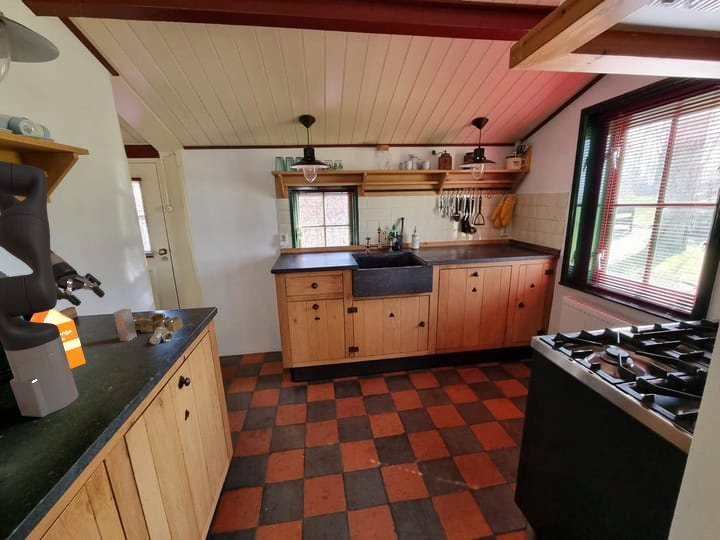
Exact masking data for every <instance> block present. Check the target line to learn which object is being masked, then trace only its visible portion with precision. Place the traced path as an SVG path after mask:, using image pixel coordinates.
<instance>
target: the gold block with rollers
mask: <svg viewBox="0 0 720 540" xmlns="http://www.w3.org/2000/svg"><path fill="white" fill-rule="evenodd" d="M150 315H151V317H150V316H149V315H146V316H141V315H138V316H132V317H133V321H134V325H135V330H141V331H140V332H141V333H151V332H153V333H154V331H155V330H156V329H157V328H158V327H165V328H166V330H168V331H172V332H173V333H175V332H176V330H177V331H178V330H179V329H181V328H183V327H184V324H183V319H182V318H181V317H178V316H174V317H170V316H165V315H166V314H165V312H152V313H151V314H150Z"/></svg>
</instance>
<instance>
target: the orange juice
mask: <svg viewBox="0 0 720 540" xmlns="http://www.w3.org/2000/svg"><path fill="white" fill-rule="evenodd" d="M29 321H31V322H40V323H52V324H55V325H57V327H58V328H59V331H60V335H61V338H62V342H63V345H64V348H65V352H66V355H67V358H68V362H69V365H70V368H71V369H73V368H76V367H79V366H81V365H84V364H86V358H85V356H84V353H83V349H82V344H81V341H80V338H79V335H78V331H77V328H76V324H75V322H74V321H75V320H74V319H73V318H72V319H71V318H70V317H68V316H66V315H64V314H63V313H61V312H59V311H58V310H56V309H55V308H53V309H52V310H49V311H45V312H41V313H35V314H32V316H31V318H30V320H29Z"/></svg>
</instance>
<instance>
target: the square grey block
mask: <svg viewBox="0 0 720 540" xmlns="http://www.w3.org/2000/svg"><path fill="white" fill-rule="evenodd" d="M113 317H114V320H115V321H114V322H115V325H116V329H117V333H118V337H119V341H120V342H131V341H132V340H134V339H136V338H138V335H137V331H136V330H135V325H134V321H133V317H134V316H133V312H132V310H131V308H122V309H119V310H117V311H114V312H113ZM135 337H136V338H135ZM133 338H134V339H133ZM130 340H131V341H130Z"/></svg>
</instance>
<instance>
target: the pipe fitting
mask: <svg viewBox="0 0 720 540" xmlns="http://www.w3.org/2000/svg"><path fill="white" fill-rule="evenodd" d="M153 333H154V334H153V335H152V336H151V337H150V338H149V343H150V344H151V345H153V344H154V345H159V344H160V343H161V342H162V341H163V342H166V343H167V342H168V341H169V342H172V340H174V338H175V335H174V332H172V331H168V330H166V328H165V327H158V328H157V329H156V330H155V331H154V332H153Z"/></svg>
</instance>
